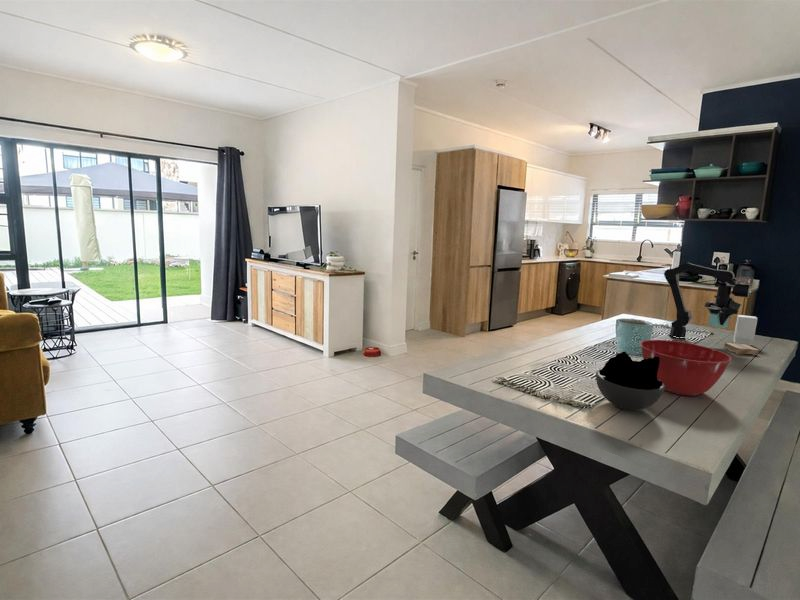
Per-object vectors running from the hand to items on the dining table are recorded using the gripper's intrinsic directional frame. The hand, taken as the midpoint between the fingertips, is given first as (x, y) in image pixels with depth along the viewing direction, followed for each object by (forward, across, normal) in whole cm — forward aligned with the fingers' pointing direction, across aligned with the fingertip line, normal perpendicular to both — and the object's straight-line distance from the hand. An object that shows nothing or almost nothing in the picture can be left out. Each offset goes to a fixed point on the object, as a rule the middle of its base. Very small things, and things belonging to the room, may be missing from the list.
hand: (717, 323), depth 230 cm
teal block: (+1, 0, 0) cm, 1 cm away
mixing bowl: (+12, -76, +56) cm, 95 cm away
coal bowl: (+12, -99, +84) cm, 130 cm away
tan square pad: (+12, -11, -6) cm, 17 cm away
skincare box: (+12, +7, -18) cm, 23 cm away
